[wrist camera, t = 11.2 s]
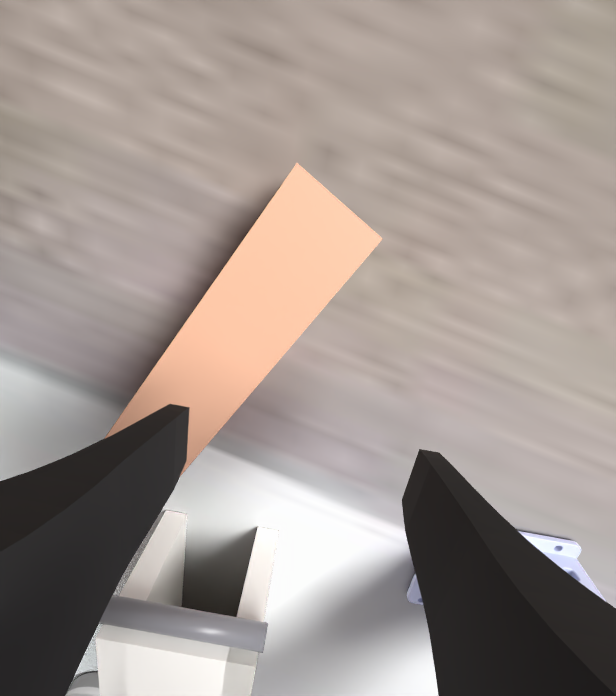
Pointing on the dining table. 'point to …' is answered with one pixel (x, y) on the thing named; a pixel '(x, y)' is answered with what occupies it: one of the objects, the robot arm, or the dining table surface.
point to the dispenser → (182, 625)
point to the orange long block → (255, 308)
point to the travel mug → (85, 685)
